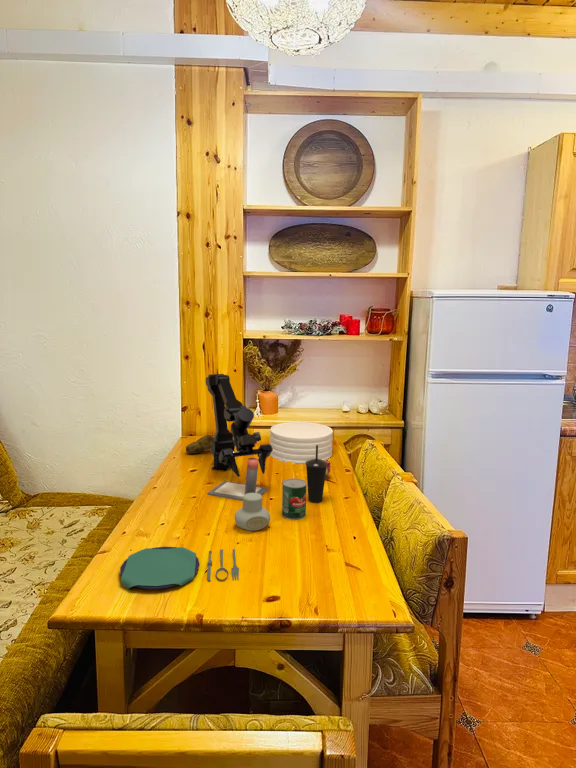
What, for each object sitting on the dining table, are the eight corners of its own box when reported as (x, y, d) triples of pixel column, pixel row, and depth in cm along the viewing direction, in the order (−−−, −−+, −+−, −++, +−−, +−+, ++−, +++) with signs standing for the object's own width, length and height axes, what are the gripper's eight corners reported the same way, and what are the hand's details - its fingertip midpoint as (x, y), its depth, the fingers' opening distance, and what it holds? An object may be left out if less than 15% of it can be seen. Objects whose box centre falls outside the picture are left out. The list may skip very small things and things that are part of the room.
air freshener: (264, 518, 162) (265, 489, 160) (273, 529, 154) (273, 498, 152) (231, 523, 158) (231, 493, 156) (238, 535, 150) (238, 503, 148)
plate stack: (261, 459, 219) (261, 434, 217) (280, 442, 245) (281, 419, 243) (324, 467, 211) (324, 441, 209) (337, 448, 237) (338, 425, 235)
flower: (336, 471, 201) (326, 454, 202) (337, 474, 192) (325, 457, 192) (316, 484, 202) (305, 467, 202) (315, 488, 192) (304, 470, 193)
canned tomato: (289, 507, 170) (290, 476, 168) (310, 513, 166) (311, 481, 164) (277, 516, 163) (277, 483, 162) (298, 522, 159) (299, 489, 158)
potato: (188, 450, 230) (188, 433, 228) (216, 450, 230) (216, 433, 229) (184, 455, 222) (184, 438, 220) (214, 456, 222) (214, 438, 220)
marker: (242, 494, 177) (245, 459, 175) (249, 491, 180) (253, 457, 178) (249, 497, 175) (253, 462, 173) (257, 495, 178) (260, 460, 175)
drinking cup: (324, 505, 172) (326, 449, 169) (302, 503, 174) (304, 447, 170) (327, 497, 180) (329, 443, 176) (306, 494, 181) (307, 441, 178)
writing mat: (207, 494, 180) (207, 492, 179) (224, 482, 192) (224, 479, 191) (253, 502, 173) (253, 500, 173) (268, 489, 185) (268, 487, 185)
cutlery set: (127, 553, 138) (127, 546, 138) (237, 550, 143) (237, 542, 142) (112, 597, 119) (112, 588, 119) (240, 591, 123) (240, 583, 123)
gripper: (220, 426, 173) (231, 467, 165) (271, 422, 181) (283, 461, 173) (214, 442, 181) (223, 482, 173) (262, 437, 189) (273, 475, 181)
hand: (251, 474), depth 175 cm, fingers open, 9 cm apart
